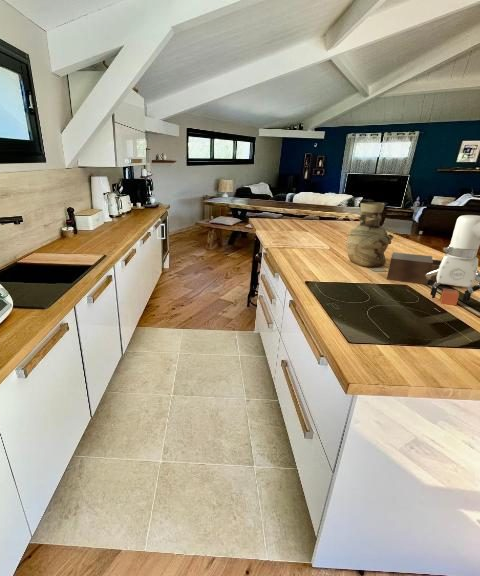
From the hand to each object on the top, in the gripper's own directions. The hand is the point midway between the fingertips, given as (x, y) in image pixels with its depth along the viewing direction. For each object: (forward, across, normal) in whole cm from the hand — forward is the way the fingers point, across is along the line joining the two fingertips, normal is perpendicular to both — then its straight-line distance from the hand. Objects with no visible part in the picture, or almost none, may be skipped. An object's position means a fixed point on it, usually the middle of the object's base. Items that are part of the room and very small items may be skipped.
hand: (448, 299), depth 113 cm
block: (+1, 0, 0) cm, 1 cm away
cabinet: (+1, -13, +24) cm, 27 cm away
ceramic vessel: (+1, -32, +42) cm, 53 cm away
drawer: (0, +1, +24) cm, 24 cm away
